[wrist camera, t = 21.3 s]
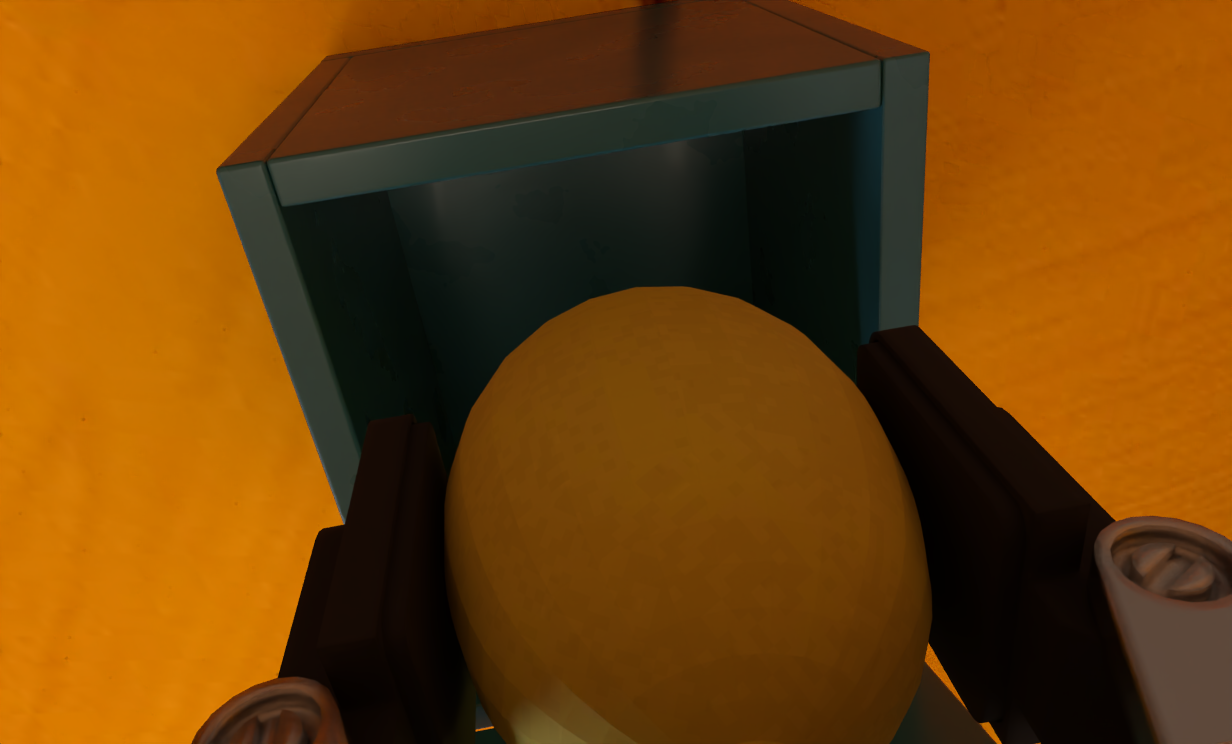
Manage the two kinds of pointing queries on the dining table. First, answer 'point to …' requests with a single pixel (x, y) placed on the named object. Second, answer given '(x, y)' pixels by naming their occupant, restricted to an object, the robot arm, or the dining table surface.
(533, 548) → the lemon
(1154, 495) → the dining table surface
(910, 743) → the box lid
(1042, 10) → the dining table surface
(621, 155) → the teal box
